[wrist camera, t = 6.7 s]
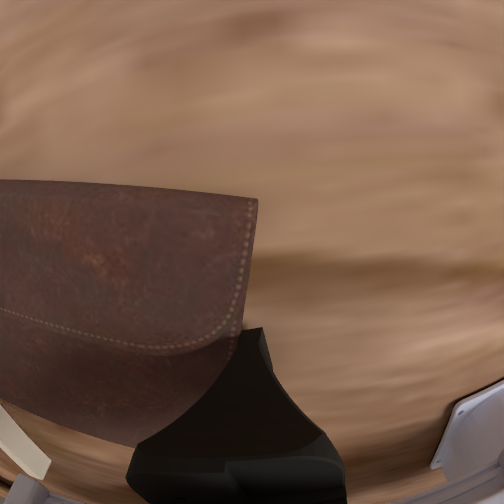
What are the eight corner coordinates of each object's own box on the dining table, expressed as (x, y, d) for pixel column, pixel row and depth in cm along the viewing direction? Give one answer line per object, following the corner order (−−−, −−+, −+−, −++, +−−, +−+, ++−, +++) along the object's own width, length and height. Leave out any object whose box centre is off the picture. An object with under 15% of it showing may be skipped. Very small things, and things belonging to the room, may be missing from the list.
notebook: (224, 445, 16) (221, 471, 15) (-20, 371, 16) (-32, 386, 14) (258, 194, 11) (258, 208, 9) (-70, 177, 10) (-92, 186, 8)
